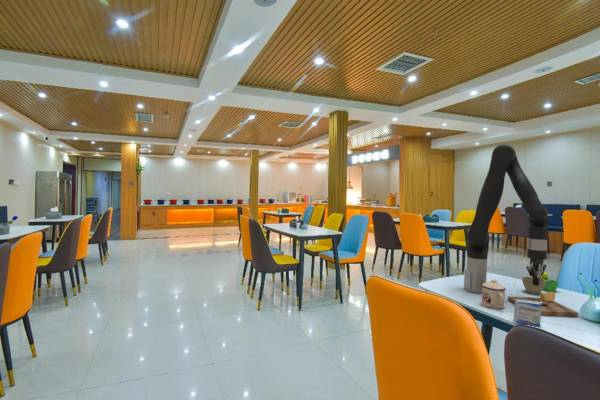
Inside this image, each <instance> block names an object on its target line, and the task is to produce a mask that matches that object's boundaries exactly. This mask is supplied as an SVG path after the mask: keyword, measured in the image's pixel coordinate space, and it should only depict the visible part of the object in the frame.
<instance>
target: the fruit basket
mask: <svg viewBox="0 0 600 400" xmlns="http://www.w3.org/2000/svg"><path fill="white" fill-rule="evenodd" d="M548 275H549V273H548V272H546V270H545V271H544V274H543V276H541V277H540V278H541V279H544V280H546V283H545V286H544V288H543V290H542V291H544V292H554V293H556V290H557V289H558V287H559V284H560V282H559V281H556V280H554V279H552V278H550V277H548Z"/></svg>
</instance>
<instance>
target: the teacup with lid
mask: <svg viewBox="0 0 600 400" xmlns="http://www.w3.org/2000/svg"><path fill="white" fill-rule="evenodd" d="M482 286H483V290H482V293H481V294H482V295H481V304H482V305H483V306H484V307H486V306H487V308H489V307H490V309H494V308H495V309H494V310H496V309H497V310H500V309H502V310H503V309H504V308H505V298H506V295H505V294H506V289H507V288H506V287H505V286H504V285H502V284H500V283H499V282H497V280H496V279H491V281H488V282H486V283H483V285H482Z"/></svg>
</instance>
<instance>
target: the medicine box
mask: <svg viewBox="0 0 600 400" xmlns="http://www.w3.org/2000/svg"><path fill="white" fill-rule="evenodd" d="M513 309H514V312H513V313H514V314H513V320H514V321H515V322H516V324H519V325H520V324H521V325H526V326H532V327H541V317H542V316H541V304H540V303H539V302H537V301H529V300H521V299H515V305H514V307H513Z"/></svg>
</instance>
